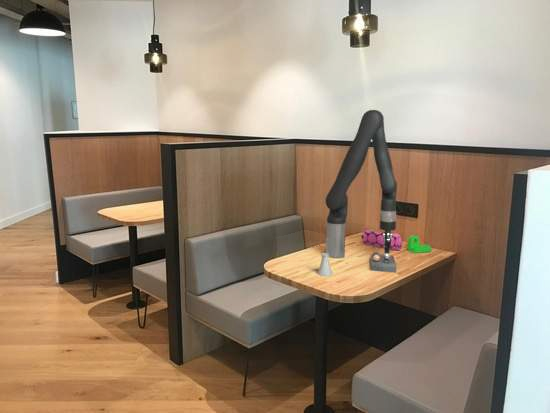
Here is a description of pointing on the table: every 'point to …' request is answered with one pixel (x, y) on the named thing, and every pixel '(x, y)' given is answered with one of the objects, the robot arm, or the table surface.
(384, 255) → the steel ball
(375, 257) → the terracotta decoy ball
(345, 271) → the table surface
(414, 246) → the mechanical part
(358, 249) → the table surface
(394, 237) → the pencil case
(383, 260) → the grey ball holder tray
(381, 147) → the robot arm
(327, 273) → the flask
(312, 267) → the table surface
